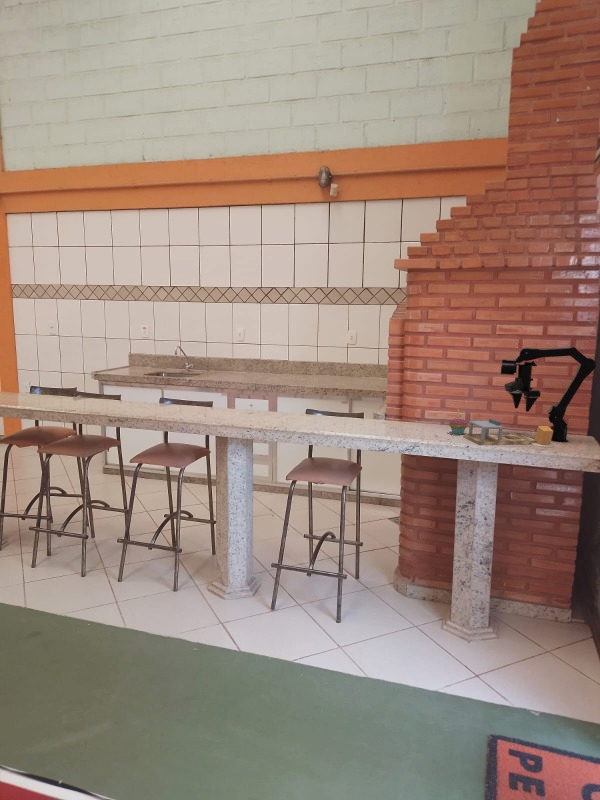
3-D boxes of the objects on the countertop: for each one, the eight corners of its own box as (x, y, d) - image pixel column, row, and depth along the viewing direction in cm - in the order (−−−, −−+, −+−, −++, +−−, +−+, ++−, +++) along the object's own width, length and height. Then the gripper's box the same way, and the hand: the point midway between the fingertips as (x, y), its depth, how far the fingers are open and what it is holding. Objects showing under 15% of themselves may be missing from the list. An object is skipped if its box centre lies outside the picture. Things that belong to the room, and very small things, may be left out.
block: (544, 439, 247) (547, 426, 245) (549, 444, 243) (553, 431, 241) (534, 439, 247) (538, 426, 244) (539, 444, 243) (543, 431, 240)
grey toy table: (487, 433, 258) (488, 417, 257) (502, 440, 244) (503, 423, 243) (468, 434, 257) (469, 417, 256) (482, 440, 243) (483, 423, 242)
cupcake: (446, 431, 270) (447, 406, 268) (463, 432, 270) (465, 407, 268) (452, 435, 261) (453, 409, 259) (470, 435, 262) (472, 410, 260)
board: (519, 437, 262) (519, 433, 261) (538, 444, 246) (539, 440, 246) (463, 437, 258) (463, 433, 258) (479, 445, 242) (479, 441, 242)
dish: (545, 442, 250) (546, 441, 250) (557, 447, 241) (558, 445, 241) (526, 443, 249) (526, 441, 249) (538, 447, 240) (538, 446, 240)
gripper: (497, 373, 265) (494, 406, 267) (519, 378, 247) (516, 413, 249) (519, 373, 267) (516, 406, 269) (542, 378, 249) (539, 413, 251)
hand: (521, 410), depth 259 cm, fingers open, 9 cm apart
